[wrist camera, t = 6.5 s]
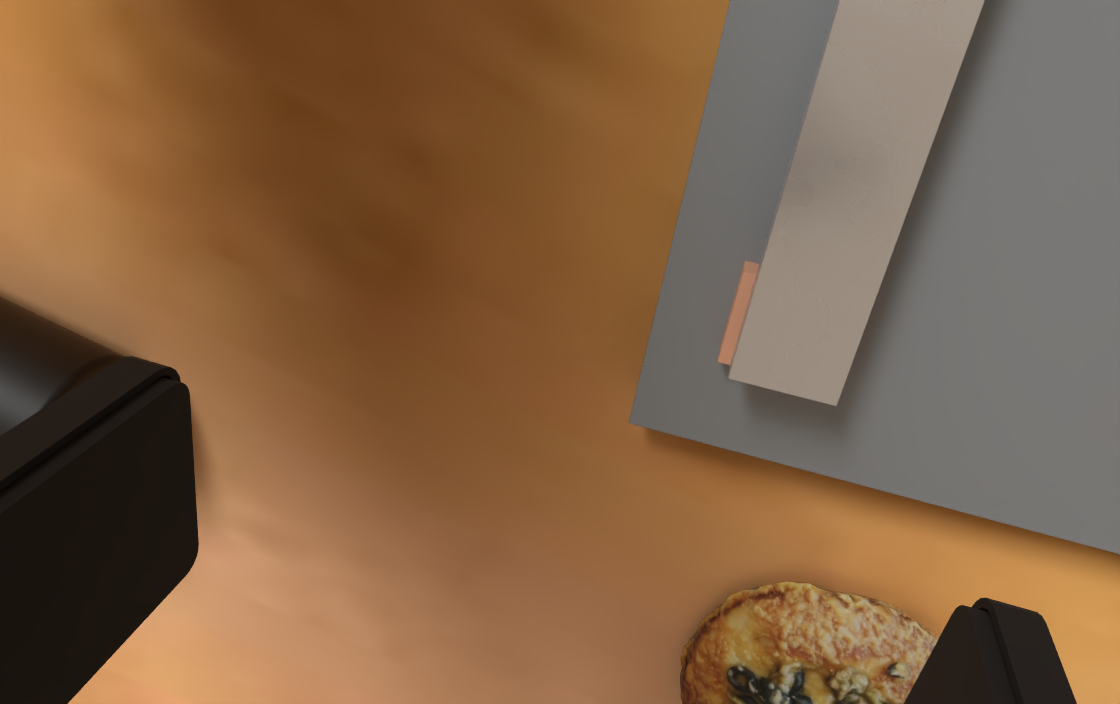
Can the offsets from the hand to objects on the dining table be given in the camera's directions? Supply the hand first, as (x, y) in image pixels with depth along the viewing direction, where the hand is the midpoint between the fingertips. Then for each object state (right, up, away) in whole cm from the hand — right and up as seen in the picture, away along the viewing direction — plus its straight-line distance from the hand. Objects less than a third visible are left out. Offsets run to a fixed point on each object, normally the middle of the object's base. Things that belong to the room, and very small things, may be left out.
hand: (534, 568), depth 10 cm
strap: (+8, +9, +11) cm, 16 cm away
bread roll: (+11, -10, +24) cm, 28 cm away
